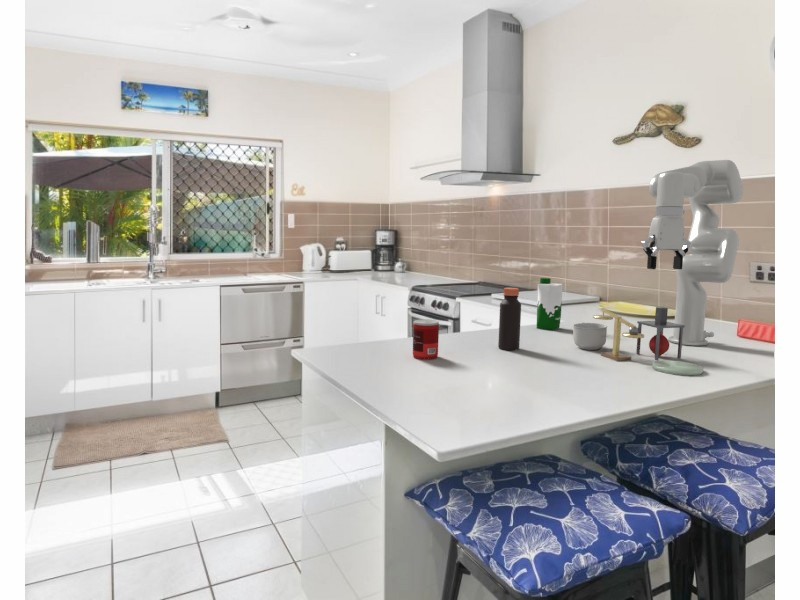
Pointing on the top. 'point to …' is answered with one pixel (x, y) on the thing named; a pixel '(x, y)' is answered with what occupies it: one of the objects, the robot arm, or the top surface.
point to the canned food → (425, 339)
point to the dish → (677, 367)
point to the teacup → (589, 335)
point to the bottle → (509, 320)
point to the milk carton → (549, 304)
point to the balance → (618, 335)
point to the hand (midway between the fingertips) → (664, 269)
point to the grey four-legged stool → (660, 329)
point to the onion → (662, 345)
